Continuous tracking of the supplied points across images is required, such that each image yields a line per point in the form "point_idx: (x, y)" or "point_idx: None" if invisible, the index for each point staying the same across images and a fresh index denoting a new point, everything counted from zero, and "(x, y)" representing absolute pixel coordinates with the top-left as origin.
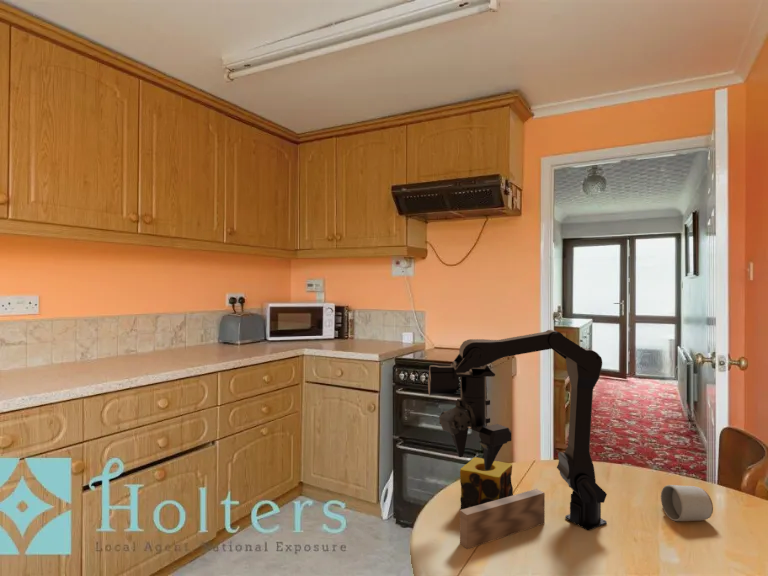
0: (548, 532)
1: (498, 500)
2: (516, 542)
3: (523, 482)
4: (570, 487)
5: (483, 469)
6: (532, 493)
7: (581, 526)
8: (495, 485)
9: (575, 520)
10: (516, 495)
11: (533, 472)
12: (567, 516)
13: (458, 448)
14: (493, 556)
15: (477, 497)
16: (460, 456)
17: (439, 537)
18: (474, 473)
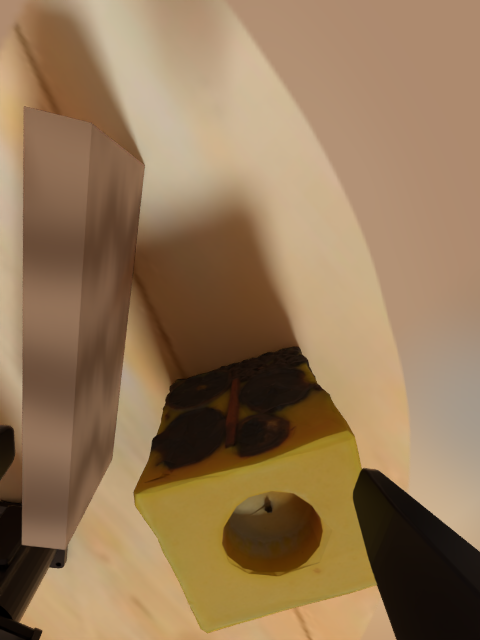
0: None
1: (66, 366)
2: None
3: None
4: (34, 628)
5: (300, 529)
6: (41, 512)
7: (10, 504)
8: (167, 457)
9: (17, 511)
10: (62, 457)
11: (290, 635)
12: None
13: (420, 541)
14: None
15: (242, 388)
16: (362, 479)
17: (218, 137)
18: (264, 451)
